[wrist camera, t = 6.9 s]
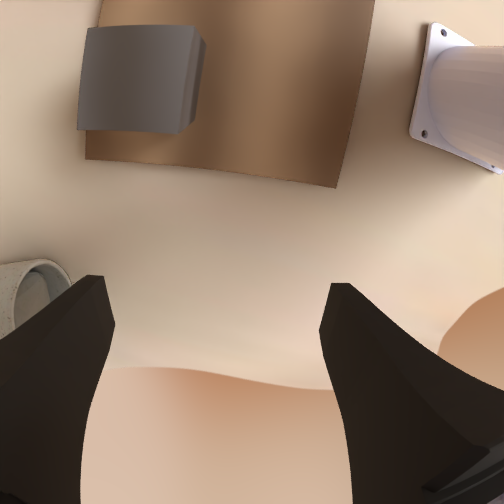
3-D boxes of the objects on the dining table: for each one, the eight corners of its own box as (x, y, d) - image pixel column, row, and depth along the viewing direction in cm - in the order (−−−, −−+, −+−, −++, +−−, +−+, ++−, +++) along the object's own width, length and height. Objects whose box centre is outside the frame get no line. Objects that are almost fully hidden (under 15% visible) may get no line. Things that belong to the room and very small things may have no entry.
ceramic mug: (-15, 251, 18) (-67, 310, 12) (53, 236, 18) (-5, 309, 12) (38, 345, 24) (9, 408, 17) (106, 346, 24) (82, 422, 17)
